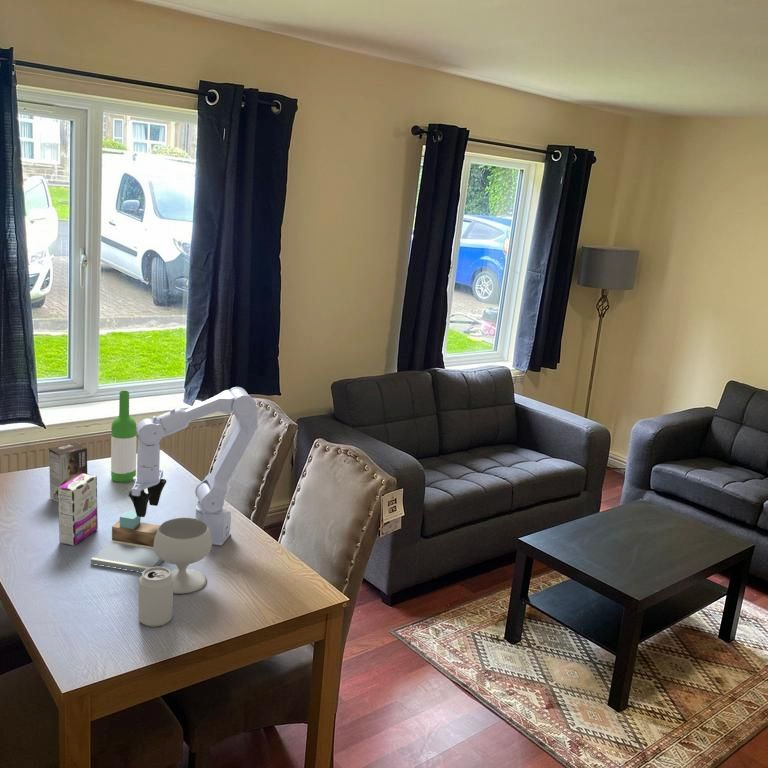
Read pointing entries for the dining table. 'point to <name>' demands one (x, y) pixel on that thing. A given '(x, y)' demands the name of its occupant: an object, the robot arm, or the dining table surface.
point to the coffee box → (66, 465)
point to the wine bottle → (123, 443)
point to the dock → (127, 556)
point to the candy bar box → (77, 509)
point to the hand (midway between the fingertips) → (147, 510)
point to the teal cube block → (129, 520)
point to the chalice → (184, 551)
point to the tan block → (135, 534)
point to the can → (155, 596)
